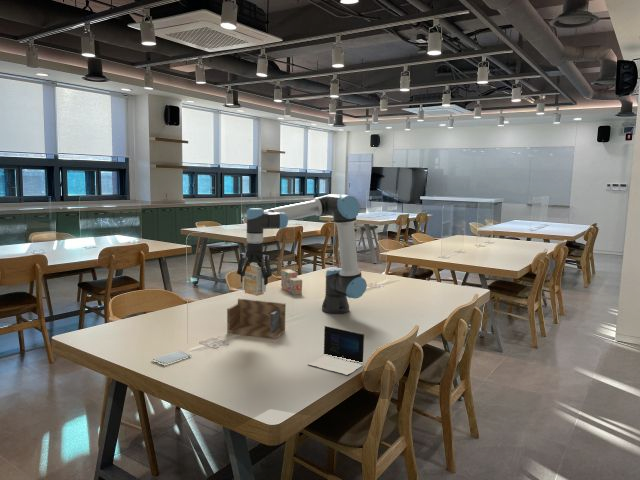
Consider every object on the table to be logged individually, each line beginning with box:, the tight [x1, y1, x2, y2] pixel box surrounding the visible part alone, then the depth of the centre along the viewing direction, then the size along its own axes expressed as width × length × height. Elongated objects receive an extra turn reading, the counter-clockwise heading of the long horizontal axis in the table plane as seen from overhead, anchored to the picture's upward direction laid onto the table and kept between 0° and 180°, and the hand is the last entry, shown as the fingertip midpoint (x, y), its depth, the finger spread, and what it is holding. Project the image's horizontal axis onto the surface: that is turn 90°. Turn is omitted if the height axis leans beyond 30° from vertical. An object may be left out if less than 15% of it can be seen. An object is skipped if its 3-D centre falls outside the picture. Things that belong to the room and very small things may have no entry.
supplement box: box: [244, 263, 265, 296], centre depth 218 cm, size 8×5×13 cm, turn 52°
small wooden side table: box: [226, 298, 286, 340], centre depth 221 cm, size 24×12×14 cm, turn 73°
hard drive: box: [152, 350, 192, 364], centre depth 186 cm, size 2×8×12 cm
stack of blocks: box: [280, 268, 303, 295], centre depth 304 cm, size 21×6×12 cm, turn 25°
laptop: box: [323, 325, 365, 363], centre depth 184 cm, size 18×12×13 cm
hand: (254, 290), depth 218 cm, fingers closed on supplement box, 9 cm apart
